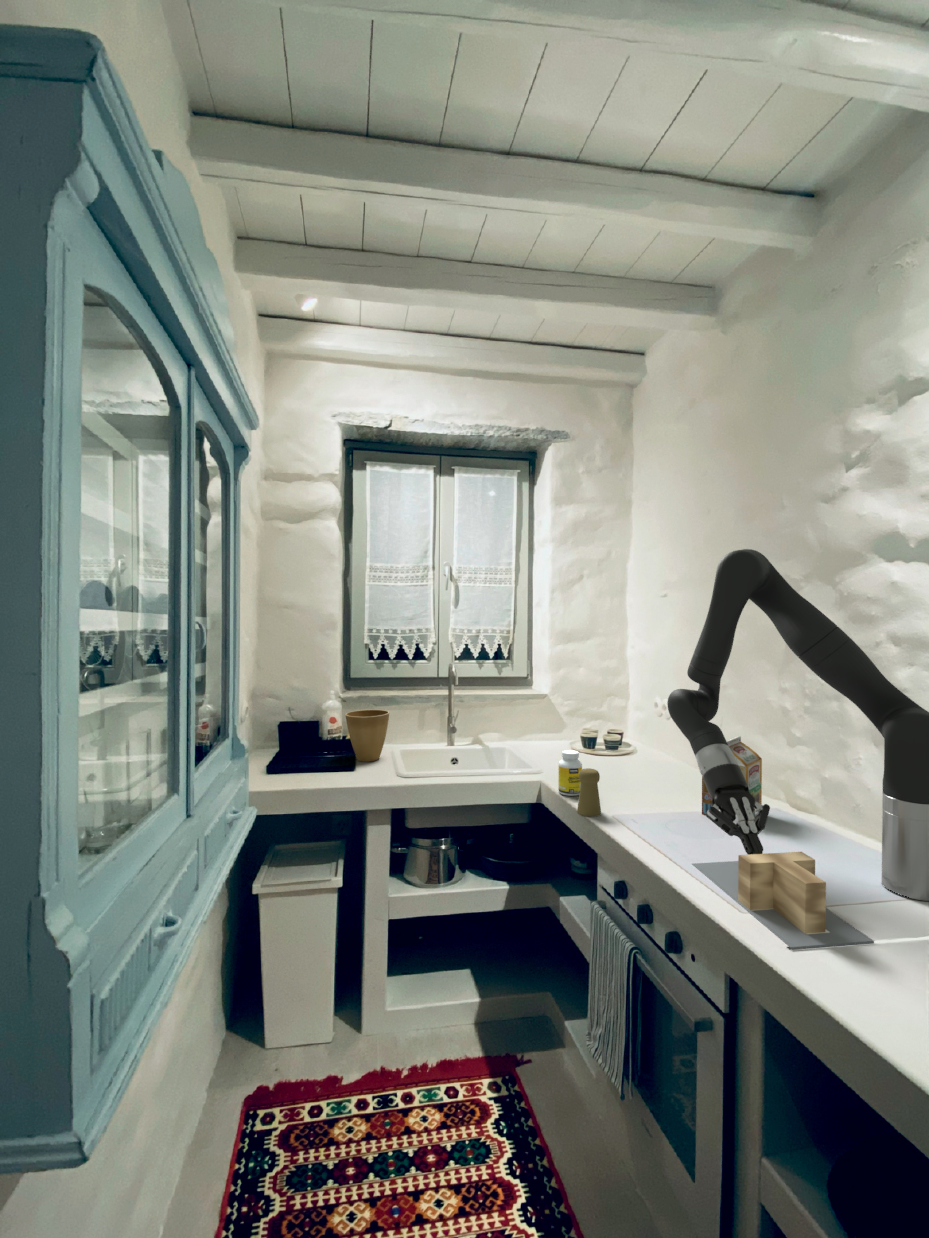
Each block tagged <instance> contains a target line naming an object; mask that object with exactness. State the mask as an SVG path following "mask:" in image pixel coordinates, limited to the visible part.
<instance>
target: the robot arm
mask: <svg viewBox="0 0 929 1238" xmlns="http://www.w3.org/2000/svg"><path fill="white" fill-rule="evenodd" d="M748 601H751V602H752V603H753V604H755V606H757V607H758V608H759V609H760V610H761V611H762V612H763V613H764V614H766V616H767V617H768V619H770V621H771V622H772V624H773V625H774V626H775V629H776V630H777V632H778V633H779V634H780V635H779V636H781V638H782V640H783V641H784V643H785V644H786V645H787V647H789V649H790V650H791V651H792V652H793V654H794V655H795V656H796V657H797V658H798V659H799V660H800V661H801V662H802V663H804V665H806V666H807V668H809V669H810V671H811V672H813V673H814V674H815V675H816V676H818V677H819V679H821V680H822V681H824V683H825V684H827V685H828V686H830V687H831V688H833V689H834V690H835V691H837V692H838V693H840V694H841V695H842V696H843V697H845V698H847V699H848V700H849V701H850V702H851V703H853V704H854V705H855V706H856V707H857V708H858V709H859V710H860V711H861V712H862V714H864V715H865V717H866V718H867V719H868V720H869V721H870V723H872V725H873V726H874V727H875V729H877V731H878V732H879V733H880V734H881V735H882V737H883V741H884V743H883V744H884V745H883V746H884V747H883V748H884V749H883V751H884V752H883V753H884V754H883V760H884V761H883V776H882V794H881V795H882V796H881V797H882V799H881V801H882V804H881V805H882V806H881V808H882V809H881V811H882V815H881V820H882V822H881V885H882V886H883V885H884V886H885V887H886V888H885V887H884V886H883V887H884V888H885V889H887V890H888V889H889V890H888V891H890V890H892V891H893V892H892V891H891V892H892V893H894V892H895V893H894V894H896V893H899V894H901V895H900V896H902V895H904V896H903V897H905V896H907V897H906V898H908V897H909V898H908V899H912V900H917V901H918V900H919V901H923V902H924V901H925V902H927V901H928V902H929V711H928V710H926V709H925V708H923V707H922V706H920V705H919V704H918V703H917V702H915V701H913V699H911V698H910V697H909V696H907V695H906V694H905V693H903V691H901V690H900V689H898V688H897V687H896V686H895V685H894V684H893V683H892V682H891V681H890V680H888V679H887V677H886V676H884V674H883V673H882V672H881V671H880V670H879V668H878V667H877V666H876V664H874V662H873V661H872V659H871V658H870V657H869V656H868V655H867V654H866V653H865V652H864V651H863V649H862V648H861V647H860V646H859V645H858V644H857V643H856V642H855V641H854V640H853V638H852V637H850V636H849V635H848V634H847V633H846V632H845V631H844V630H843V629H842V628H840V627H839V626H838V625H837V624H836V623H835V621H832V620H831V619H830V618H829V617H827V615H825V614H824V613H823V612H822V611H821V610H820V609H819V608H817V607H816V606H815V605H814V604H812V602H810V601H809V600H807V599H806V598H805V597H803V596H802V595H801V594H800V593H799V592H797V590H795V589H794V588H793V587H792V586H791V584H789V583H788V581H787V580H786V579H785V578H784V577H783V575H781V574H780V572H779V571H778V570H777V569H776V567H775V566H774V565H773V564H772V563H771V562H770V560H769V559H768V558H767V557H766V556H765V555H764V554H763V553H761V552H759V551H758V550H754V549H749V548H746V549H745V548H743V549H737V550H732V551H730V552H729V553H726V554H725V555H723V557H722V558H721V559H720V560H719V562H718V565H717V567H716V571H715V576H714V584H713V589H712V593H711V600H710V604H709V606H708V607H709V608H708V611H707V614H706V619H705V621H704V625H703V627H702V630H701V633H700V635H699V638H698V640H697V643H696V646H695V649H694V651H693V655H692V657H691V659H690V662H689V665H688V668H687V677H688V678H689V679H690V680H691V681H692V682H695V683H696V684H698V689H697V690H695V689H687V688H686V689H685V688H678V689H674V690H673V691H672V692H671V693H670V694H669V695H668V698H667V703H666V704H667V710H668V713H669V715H670V717H671V719H672V722H673V723H674V724H675V725H676V727H678V729H679V730H680V732H681V733H682V734H683V736H684V737H685V738H686V739H687V740H688V742H689V744H690V747H691V749H692V751H693V754H694V756H695V759H696V763H697V767H698V770H699V772H700V775H701V778H702V777H703V780H704V782H705V785H706V787H707V790H708V792H709V795H710V797H711V798H712V805H713V806H712V807H711V808H710V809H709V810H708V811H707V812H706V815H705V817H706V818H708V819H709V820H710V821H711V822H712V823H713V824H715V825H716V826H717V827H718V828H720V829H721V830H722V831H723V832H724V833H726V834H727V835H728V836H730V837H733V836H734V837H737V838H738V839H739V840H740V841H741V844H742V846H743V848H744V851H745V853H746V855H750V854H764V853H763V852H764V846H763V844H762V842H761V840H760V837H759V834H760V833H761V832H762V831H763V830H765V827H766V825H767V821H768V817H769V814H770V810H771V806H770V805H769V804H767V803H764V804H762V805H761V804H760V803H758V802H756V800H755V798H754V797H753V796H752V795H751V794H750V792H749V788H748V784H747V782H746V780H745V777H744V775H743V773H742V771H741V769H740V767H739V764H738V762H737V760H736V758H735V756H734V754H733V753H732V751H731V750H730V748H729V746H728V744H727V742H726V741H727V740H726V738H725V735H724V733H723V731H722V729H721V728H720V727H719V726H718V725H717V723H716V724H715V723H714V722H711V720H713V719H714V718H715V717H716V715H717V713H718V710H719V706H720V704H719V703H720V690H721V680H722V677H723V675H724V672H725V670H726V667H727V665H728V662H729V659H730V656H731V653H732V649H733V646H734V645H733V644H734V639H735V634H736V630H737V626H738V623H739V620H740V617H741V614H742V613H743V611H744V608H745V606H746V604H747V603H748ZM754 809H755V815H757V817H756V818H755V819H754V816H753V811H754ZM899 894H898V895H899Z"/></svg>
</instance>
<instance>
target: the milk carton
mask: <svg viewBox="0 0 929 1238" xmlns="http://www.w3.org/2000/svg"><path fill="white" fill-rule="evenodd" d="M726 742H727V744H728V746H729V748H730V750H731V751H732V753H733V754H734V756H735V758H736V760H737V762H738V764H739V767H740V769H741V771H742V773H743V775H744V777H745V780H746V782H747V784H748V788H749V792H750V794H751V795H752V796H753V797H754V798H755V800H756V802H758V803H760V804H761V805H763V804H762V801H763V800H762V799H763V798H762V793H763V792H762V789H763V782H762V781H763V778H762V777H763V775H762V774H763V759H762V757H761V756H760V755H759V754H758V753H757V752H756V751H755V750H753V749H752V748H751V747H750V746H748V744H747V745H746V744H745V743H744V742H743V741H742V737H741V736H739V735H738V736H736V737H733V738H731V739H728V740H726ZM712 806H713V805H712V798H711V797H710V795H709V792H708V790H707V787H706V785H705V782H704V780H703V777H702V776H701V815H702V816H706V812H707V811H708V810H709V809H710V808H711V807H712ZM753 816H754V820H756V817H757V815H755V809H754V811H753Z"/></svg>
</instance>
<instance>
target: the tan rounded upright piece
mask: <svg viewBox="0 0 929 1238" xmlns="http://www.w3.org/2000/svg"><path fill="white" fill-rule="evenodd" d="M600 777H601V776H600V772H599V771H598V769H595V768H589V767H588V768H582V770H581V771H580V772H579V780H580V781H581V787H580V794H579V795H578V804H577V809H576V811H577V812H576V813H577V814H578V815H580V816H583V817H590V818H591V817H598V816H601V815H602V809H601V808H602V807H601V800H600V793H599V786H598V783H599V782H600V779H601V778H600Z"/></svg>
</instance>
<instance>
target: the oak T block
mask: <svg viewBox="0 0 929 1238" xmlns="http://www.w3.org/2000/svg"><path fill="white" fill-rule="evenodd" d="M737 861H738V900H739V901H740V902H741V903H742V904H743V905H745V906H746V907H747V908H748V909H749V910H758V909H774V910H776V911H777V912H778V913H779V914H781V915H782V916H783V917H785V918H786V919H787V920H788V921H790V922H791V923H792V924H793V925H795V926H796V927H797V928H799V929H800V930H801V931H802V932H804V933H805V934H807V933H821V932H825V924H826V908H827V907H826V906H827V904H826V903H827V899H826V898H827V882H826V881H825V880H823V879H821V878H820V877H818V876H816V859H814V858H813V857H812V856H810V855H808V854H806V853H804V852H803V851H789V852H774V853H773V852H770V853H762V854H750V855H748V854H738V860H737Z"/></svg>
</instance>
